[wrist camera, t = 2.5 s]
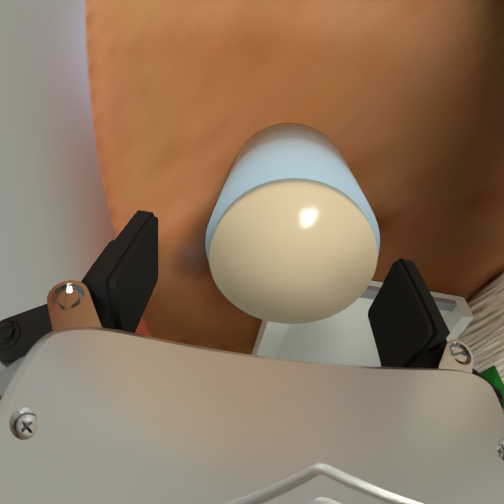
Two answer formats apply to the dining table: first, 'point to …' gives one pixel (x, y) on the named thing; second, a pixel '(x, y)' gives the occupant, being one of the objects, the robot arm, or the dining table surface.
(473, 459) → the robot arm
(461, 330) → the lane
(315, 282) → the glazed jar
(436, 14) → the dining table surface
